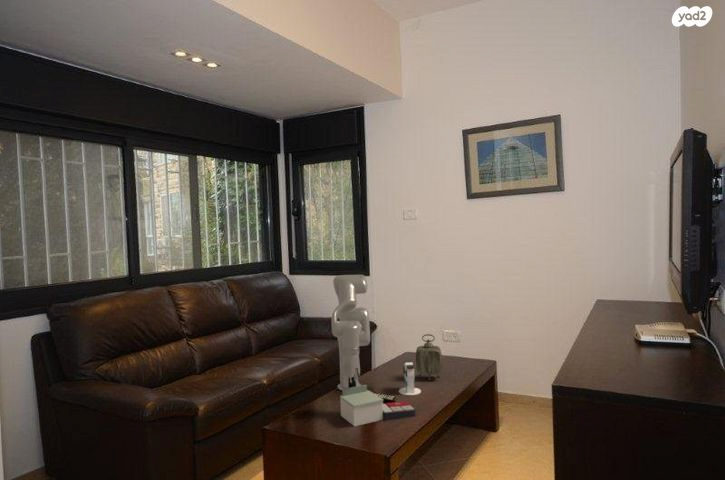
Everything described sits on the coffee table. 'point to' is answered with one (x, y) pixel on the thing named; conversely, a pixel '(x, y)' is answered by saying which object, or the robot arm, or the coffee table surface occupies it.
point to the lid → (359, 396)
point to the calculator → (397, 410)
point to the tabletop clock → (428, 359)
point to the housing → (361, 413)
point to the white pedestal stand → (409, 379)
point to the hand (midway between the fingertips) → (352, 390)
